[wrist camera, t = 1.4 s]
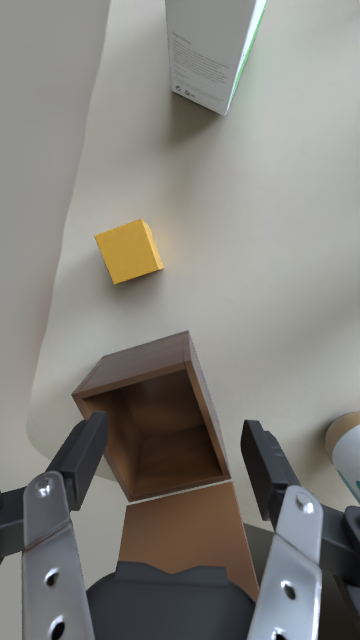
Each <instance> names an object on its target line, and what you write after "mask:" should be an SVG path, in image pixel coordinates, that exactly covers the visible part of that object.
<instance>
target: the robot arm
mask: <svg viewBox="0 0 360 640" xmlns="http://www.w3.org/2000/svg"><path fill="white" fill-rule="evenodd" d="M108 436H109V426H108V412H103V411H94V412H93V413H92V414H91V416H90V418H89V419H88V420H82V421H81V422H80V423H79V424H77V425H76V426H75V427H74V428H73V430H72V431H71V433H70V434H69V437H67V439H66V440H65V442H64V444H63V445H62V447H61V448H60V450H59V451H58V453H57V454H56V456H55V457H54V459H53V460H52V462H51V463H50V465H49V466H48V468H47V469H46V471H45V472H44V473H42V474H40V475H39V476H37V477H35V478H34V479H33V480H32V481H31V482H30V483H29V484H28V486H25V487H23V488H20V489H16V490H12V491H8V492H4V493H1V492H0V564H1V562H2V561H3V559H4V557H5V556H8V555H11V554H14V553H17V552H20V551H22V640H317V638H318V624H319V610H320V596H321V582H322V569H323V570H325V571H327V572H329V573H331V574H333V576H334V579H335V581H336V583H337V585H338V588H339V590H340V592H341V594H342V597H343V599H344V601H345V604H346V606H347V608H348V610H349V612H350V615H351V617H352V619H353V622H354V624H355V626H356V628H357V631H358V633H359V635H360V507H357V506H348V507H347V508H346V509H345V512H344V513H343V512H340V511H338V510H335V509H332V508H330V507H327V506H325V505H322V504H320V502H319V501H318V499H317V498H316V497H315V496H314V495H313V494H312V493H311V492H310V491H308V490H307V489H305V488H303V487H302V486H301V485H300V483H299V481H298V479H297V477H296V475H295V473H294V471H293V470H292V468H291V466H290V464H289V462H288V460H287V458H286V457H285V454H284V453H283V451H282V449H281V447H280V445H279V443H278V441H277V439H276V438H275V437H274V436H273V435H272V434H271V433H270V432H269V431H264V430H263V428H262V426H261V424H260V422H259V421H256V420H245V421H244V425H243V430H242V436H241V452H242V456H243V459H244V462H245V465H246V468H247V472H248V475H249V478H250V481H251V485H252V488H253V491H254V494H255V497H256V501H257V504H258V507H259V510H260V513H261V517H262V520H263V521H271V523H272V526H273V529H274V531H275V532H274V536H273V540H272V544H271V548H270V551H269V555H268V559H267V562H266V566H265V570H264V574H263V578H262V581H261V585H260V589H259V592H258V596H257V600H256V602H255V601H254V600H253V598H252V597H251V596H250V595H249V594H248V593H247V592H246V591H245V590H244V589H243V588H242V587H240V586H239V585H238V584H236V583H235V582H233V581H232V580H230V579H227V572H226V567H219V566H201V565H199V566H196V567H193V568H190V569H187V570H184V571H181V572H178V573H175V574H169V573H167V572H165V571H162V570H160V569H158V568H156V567H154V566H151V565H149V564H147V563H145V562H131V561H118V562H117V567H116V571H115V572H114V573H111V574H109V575H107V576H105V577H103V578H101V579H100V580H98V581H97V582H96V583H94V584H93V585H92V586H91V587H90V588H89V589H88V590H87V591H86V590H85V585H84V580H83V575H82V570H81V564H80V559H79V554H78V549H77V544H76V539H75V534H74V529H73V524H72V521H71V518H70V512H71V510H73V511H79V510H80V508H81V505H82V503H83V500H84V498H85V495H86V493H87V491H88V488H89V486H90V483H91V481H92V479H93V476H94V474H95V471H96V469H97V467H98V464H99V462H100V459H101V457H102V455H103V452H104V450H105V447H106V445H107V441H108Z"/></svg>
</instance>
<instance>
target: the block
mask: <svg viewBox="0 0 360 640" xmlns="http://www.w3.org/2000/svg"><path fill="white" fill-rule="evenodd" d="M95 239H96V241H97V244H98V246H99V249H100V251H101V254H102V256H103V259H104V261H105V263H106V266H107V268H108V271H109V273H110V276H111V278H112V281H113V283H114V285H115V284H118V283H121V282H124V281H127V280H130V279H133V278H136V277H139V276H142V275H145V274H148V273H151V272H154V271H157V270H160V269H163V265H162V262H161V259H160V256H159V253H158V250H157V247H156V245H155V242H154V239H153V236H152V233H151V230H150V227H149V226H148V225H147V224H146V223H145V222H144V221H143V220H142V219H139V220H136V221H133V222H131V223H128V224H125V225H123V226H120V227H117V228H114V229H112V230H109V231H106V232H103V233H101V234H98V235H95Z"/></svg>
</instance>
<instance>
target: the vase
mask: <svg viewBox="0 0 360 640" xmlns="http://www.w3.org/2000/svg"><path fill="white" fill-rule="evenodd" d="M325 444H326V450H327V453H328V456H329V458H330V460H331V462H332V464H333V465H334V467H335V469H336V470H337V472H338V474H339V475H340V477H341V478H342V480H343V481H344V483H345V484H346V486H347V487H348V489H349V490H350V492H351V493H352V494H353V496H354V497H355V499H356V500H357V501H358V503H359V504H360V412H352V413H348V414H345V415H343V416H341V417H339V418H338V419H336V420H335V421H334V422H333V423H332V424H331V425H330V427H329V428H328V430H327V433H326V438H325Z"/></svg>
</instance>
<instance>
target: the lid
mask: <svg viewBox="0 0 360 640" xmlns="http://www.w3.org/2000/svg"><path fill="white" fill-rule="evenodd" d="M118 561H131V562H145V563H147V564H149V565H151V566H154V567H156V568H158V569H160V570H162V571H165V572H167V573H169V574H175V573H178V572H181V571H184V570H187V569H190V568H193V567H196V566H199V565H201V566H219V567H226V572H227V579H230V580H232V581H233V582H235V583H236V584H238V585H239V586H240V587H242V588H243V589H244V590H245V591H246V592H247V593H248V594H249V595H250V596H251V597H252V598H253V600H254V601H255V602H256V600H257V596H258V592H259V587H258V584H257V579H256V575H255V571H254V567H253V563H252V559H251V555H250V550H249V547H248V542H247V538H246V534H245V530H244V526H243V522H242V517H241V513H240V509H239V505H238V501H237V497H236V493H235V489H234V485H233V482H228V483H224V484H219V485H215V486H211V487H206V488H202V489H198V490H193V491H189V492H185V493H180V494H176V495H172V496H167V497H163V498H159V499H155V500H150V501H145V502H141V503H137V504H132V505H128V506H127V507H126V513H125V520H124V526H123V534H122V539H121V546H120V553H119V559H118Z"/></svg>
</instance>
